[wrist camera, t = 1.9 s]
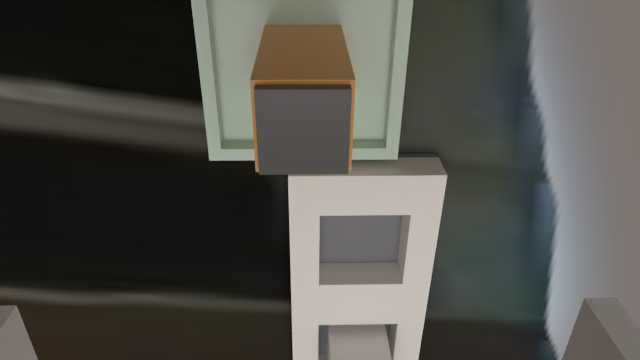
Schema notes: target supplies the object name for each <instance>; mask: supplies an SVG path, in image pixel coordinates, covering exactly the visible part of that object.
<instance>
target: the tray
mask: <svg viewBox="0 0 640 360" xmlns="http://www.w3.org/2000/svg"><path fill="white" fill-rule="evenodd" d="M191 5H192V13H193V22H194V31H195V39H196V48H197V57H198V65H199V74H200V83H201V91H202V100H203V108H204V117H205V126H206V134H207V143H208V152H209V160H210V161H220V160H255V152H254V136H253V121H252V105H251V89H250V78H251V74H252V70H253V67H254V63H255V59H256V55H257V52H258V48H259V44H260V41H261V37H262V33H263V29H264V26H265V25H341V26H342V30H343V34H344V38H345V41H346V45H347V49H348V53H349V57H350V60H351V64H352V68H353V72H354V76H355V79H356V83H355V104H354V126H353V147H352V160H398V150H399V140H400V130H401V119H402V109H403V99H404V89H405V79H406V69H407V59H408V49H409V38H410V28H411V18H412V8H413V0H191Z"/></svg>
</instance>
